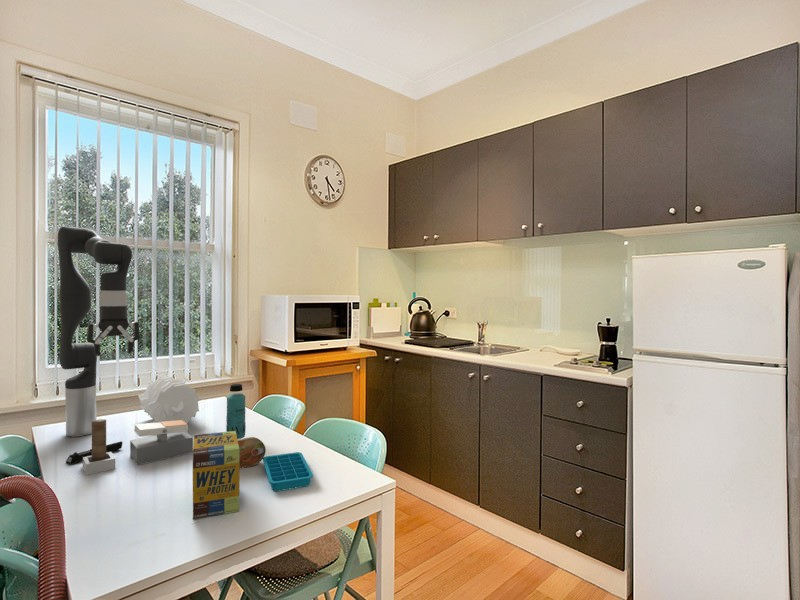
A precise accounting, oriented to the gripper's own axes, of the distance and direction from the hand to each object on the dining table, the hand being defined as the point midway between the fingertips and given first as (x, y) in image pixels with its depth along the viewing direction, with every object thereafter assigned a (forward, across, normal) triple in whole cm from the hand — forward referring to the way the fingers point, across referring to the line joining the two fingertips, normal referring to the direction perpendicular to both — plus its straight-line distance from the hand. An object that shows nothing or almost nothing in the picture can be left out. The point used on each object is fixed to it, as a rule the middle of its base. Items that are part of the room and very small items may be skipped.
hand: (114, 354), depth 146 cm
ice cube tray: (+32, -34, +53) cm, 71 cm away
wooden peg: (+32, +6, +12) cm, 35 cm away
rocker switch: (+23, -11, +12) cm, 29 cm away
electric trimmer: (+32, +6, 0) cm, 33 cm away
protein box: (+32, -13, +56) cm, 66 cm away
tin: (+32, -26, +38) cm, 56 cm away
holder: (+32, +6, +12) cm, 35 cm away
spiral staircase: (+32, -22, -23) cm, 45 cm away
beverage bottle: (+32, -34, +15) cm, 49 cm away
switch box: (+32, -11, +12) cm, 36 cm away
